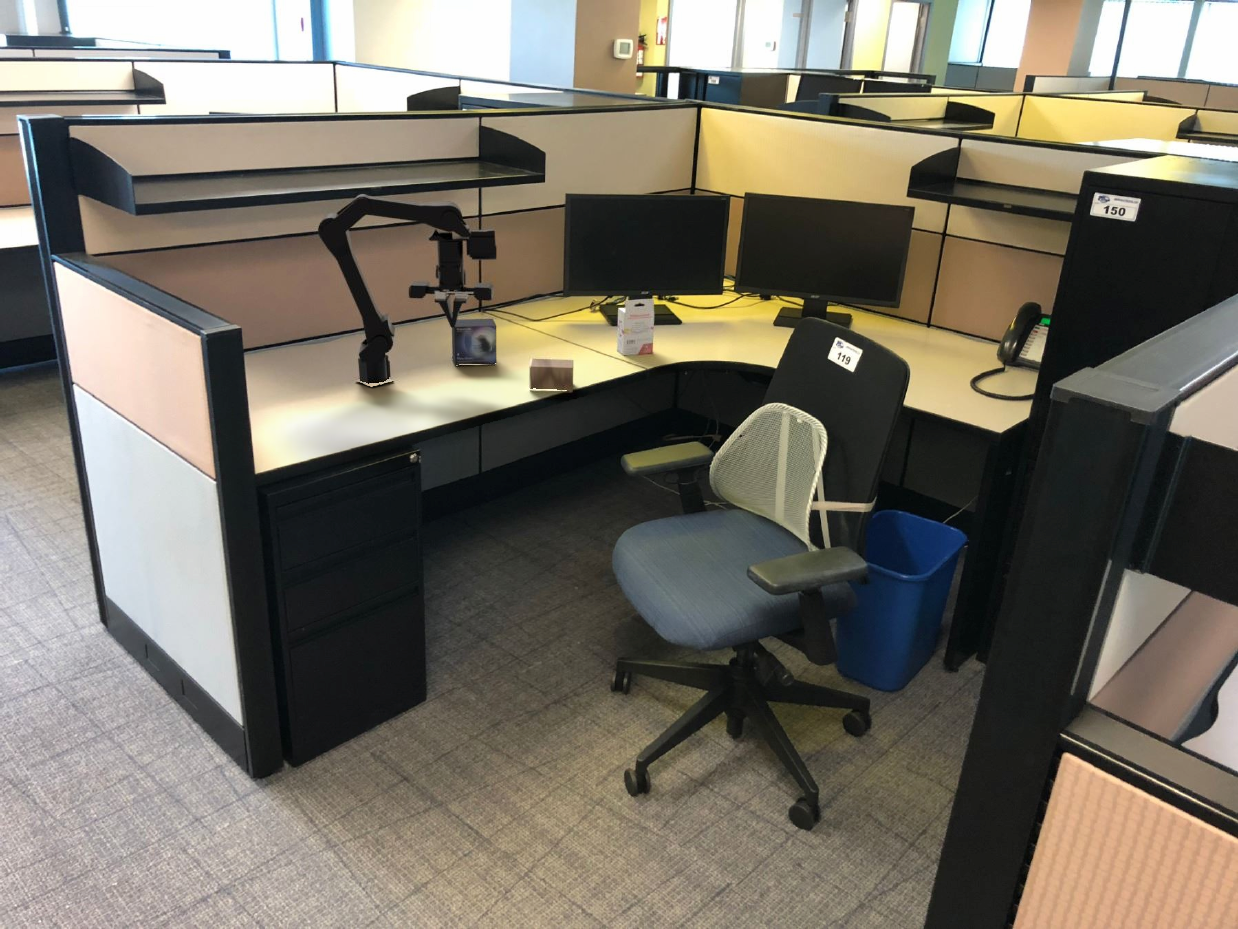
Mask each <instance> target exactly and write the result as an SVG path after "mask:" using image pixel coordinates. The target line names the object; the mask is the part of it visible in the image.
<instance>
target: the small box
mask: <svg viewBox="0 0 1238 929" xmlns="http://www.w3.org/2000/svg"><path fill="white" fill-rule="evenodd" d="M451 348H452V349H451V352H452V356H451V359H453V360H452V362H453V361H454V362H453V365H454V364H455V365H459V364H495V363H497V324H496V322H495V320H494V318H466V319H465V318H464V319H463V318H462V319H458V318H457V321H456V325H455V328H451ZM455 365H454V366H455Z"/></svg>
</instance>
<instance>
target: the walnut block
mask: <svg viewBox="0 0 1238 929" xmlns="http://www.w3.org/2000/svg"><path fill="white" fill-rule="evenodd" d="M528 381H529V383H528V384H529V385H528V386H529V388H530V389H533V388H536V389H557V390H567V391H569V392H568V393H573V390H574V389H573V388H574V359H561V358H560V359H559V358H557V359H556V358H555V359H554V358H552V359H551V358H530V362H529V380H528Z"/></svg>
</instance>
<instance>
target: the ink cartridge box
mask: <svg viewBox="0 0 1238 929" xmlns="http://www.w3.org/2000/svg"><path fill="white" fill-rule="evenodd" d="M639 304H641V305H642V306H636V305H639ZM624 305H625V306H624V307H618V309H617V336H616V337H617V340H616V342H617V343H616V350H617V352H618V353H620V354H621V355H622V356H624V355H627V356H636V355H647V354H653V351H654V329H655V328H654V327H655V300H654V298H641V299H631V300H630V299H629V300H628V299H627V300H625V302H624Z"/></svg>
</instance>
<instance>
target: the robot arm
mask: <svg viewBox="0 0 1238 929" xmlns="http://www.w3.org/2000/svg"><path fill="white" fill-rule="evenodd" d="M462 213H463V212H462V210H461V208H460V207H459V205H458V204H457V203H455V202H454V201H449V200H446V201H431V202H415V201H408V200H400V199H393V198H388V197H387V198H386V197H385V198H384V197H379V196H372V195H368V194H365V193H361V194H358V195H357V196H355V198H354V199H353V200H352V201H351V202H349V203H348V204H346V205H345V206H343V208H341V209H340V210H338V211H336V212H335V213H334V212H331V213H328V214H326V215H324V216H323V217H322V219H321V221H320V223H319V225H318V227H317V232H318V233H317V234H318V236H319V238H320V240H321V241H322V243H323V244H324V246H325V247H326V249H327V251H328V252H329V253H330V254H331V255H332V256H333V257H334V259H335V260H336V262H337V265H338V266H339V268H340V271H341V273H342V275H343V278H344V280H345V282H346V284H347V287H348V290H349V291H350V293H351V296H352V298H353V301H354V302H355V305H356V308H357V310H358V312H359V314H360V317H361V319H362V326H363V330H364V334H365V338H364V340H363V341H362V342H361V343H360V345H359V346H360V347H359V351H358V358H357V362H358V375H359V376H358V377H359V378H358V379H360V381H362V382H366V383H368V384H369V383H379V382H384V381H386V380H387V379H389V377H390V378H391V377H392V375H391V362H390V360H389V355H388V353H389V352H390V351H391V350H392V348H393V346H394V338H395V335H396V327H395V326H394V325H393V324H392V322H391V317H390V314H389V313H386V314H384V315H383V314H382V312H381V311H380V310H379V309H378V307H377V306H378V305H377V304H376V302H375V299H374V298H373V295H372V292H371V290H370V287H369V286H368V283H367V281H366V279H365V276H364V275H363V272H362V269H361V268H360V267H361V266H360V265H359V263H358V260H357V258H356V256H355V253H354V249H353V244H352V238H351V234H350V230H351V228H352V227H353V226H355V225H356V224H357V223H358V222H359V221H361V220H362V218H364V217H366V216H373V217H380V218H381V217H382V218H386V219H387V218H388V219H389V218H390V219H396V220H401V221H403V220H404V221H411V222H417V223H422V224H425V225H427V226H429V227H432V228H434V229H433V231H432V232H431V233H430V234H428V241H430V242H436V248H437V264H436V266H435V278H436V280H438V285H431V284H430V281H429V280H421V281H420V280H413V282H412V283H411V284H410V285H409V287H408V298H409V299H420V300H421V299H424V297H425V296H427V295H434V297H435V298H434V303H435V304H436V303H438V304H439V306H440V307H441V310H442V311H443V313H444V315H445V317H446V320H447V322H448V324H449V327H450V328H451V329H452V328H455V325H456V321H457V319H458V317H459V313H460V311H461V309H462V305H463V304H467V303H468V301H469V300H470V296H473V297H474V298H475V299H476V300H477V301H492V300H493V298H494V296H495V288H494V284H492V282H490V283H489V282H476V283H475V286H467V270H465V268H464V242H465V255H466V256H469V258H470V259H471V261H496V260H497V244H496V232H495V229H494V228H487V229H471V228H470V226H469V224H467V223H466V221H465V220H464V219H463V214H462ZM439 230H441V231H439ZM453 232H454V233H455V234H457V235H453ZM451 295H452V296H453V295H455V296H454V297H455V298H454V299H453V303H451V302H452V301H451V298H452V296H451Z"/></svg>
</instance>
